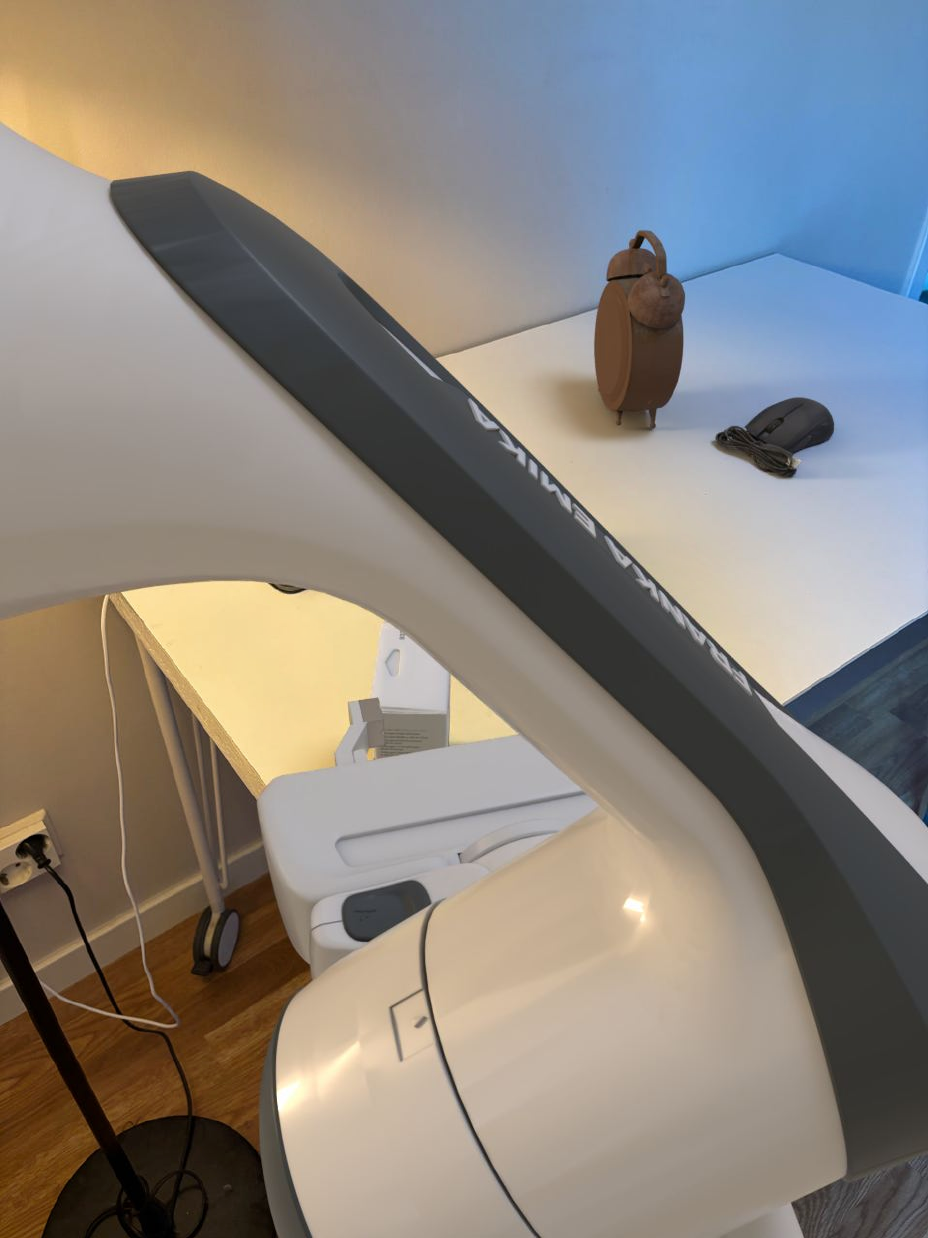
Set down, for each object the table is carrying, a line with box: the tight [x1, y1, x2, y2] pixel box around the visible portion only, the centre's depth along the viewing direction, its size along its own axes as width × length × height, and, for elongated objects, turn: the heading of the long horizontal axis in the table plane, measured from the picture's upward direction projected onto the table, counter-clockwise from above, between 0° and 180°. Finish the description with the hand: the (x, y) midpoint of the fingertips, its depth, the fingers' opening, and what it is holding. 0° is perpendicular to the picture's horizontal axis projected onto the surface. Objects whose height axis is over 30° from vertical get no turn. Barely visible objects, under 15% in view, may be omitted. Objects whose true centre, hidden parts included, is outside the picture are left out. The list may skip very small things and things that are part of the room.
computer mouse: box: [714, 396, 835, 477], centre depth 106 cm, size 10×15×4 cm
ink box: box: [369, 620, 452, 760], centre depth 65 cm, size 8×5×12 cm, turn 179°
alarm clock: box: [593, 229, 686, 429], centre depth 105 cm, size 14×7×20 cm, turn 9°
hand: (458, 693), depth 46 cm, fingers open, 8 cm apart
